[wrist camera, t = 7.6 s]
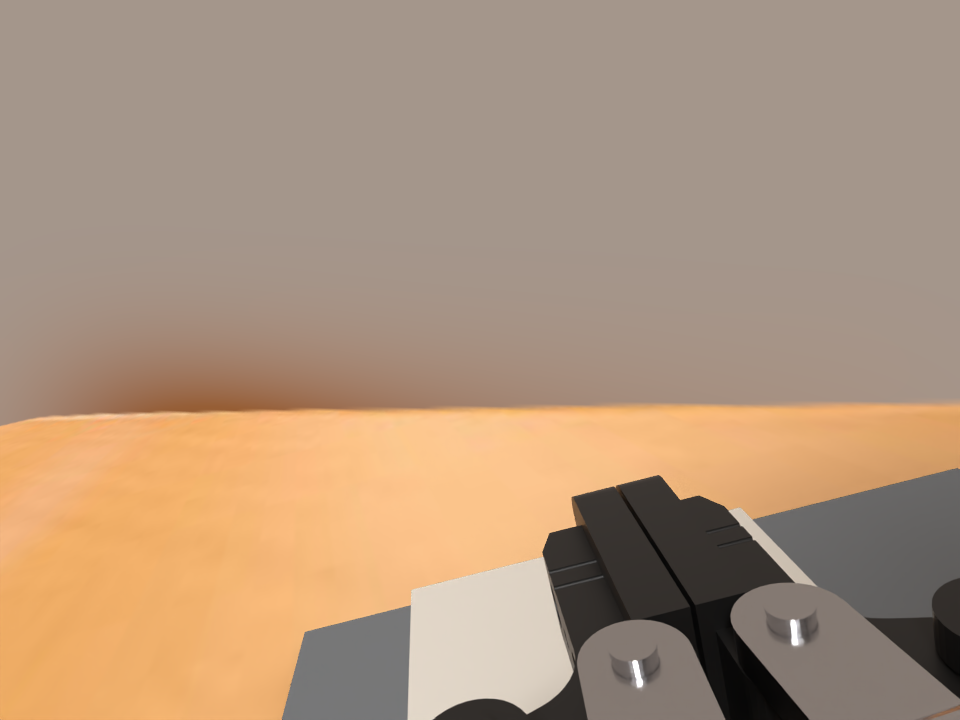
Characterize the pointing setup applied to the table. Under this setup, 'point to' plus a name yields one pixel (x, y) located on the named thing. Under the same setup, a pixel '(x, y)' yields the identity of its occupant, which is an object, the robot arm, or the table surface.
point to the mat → (798, 533)
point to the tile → (503, 636)
